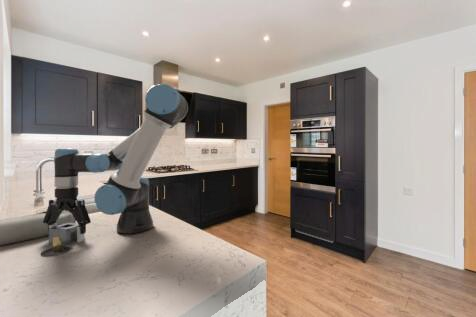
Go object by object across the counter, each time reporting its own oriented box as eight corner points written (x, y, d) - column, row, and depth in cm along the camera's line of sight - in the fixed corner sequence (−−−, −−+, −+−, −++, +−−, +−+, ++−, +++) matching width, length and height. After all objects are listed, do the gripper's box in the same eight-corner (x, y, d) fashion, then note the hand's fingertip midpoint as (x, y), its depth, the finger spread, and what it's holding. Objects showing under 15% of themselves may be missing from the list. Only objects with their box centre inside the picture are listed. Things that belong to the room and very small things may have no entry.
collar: (84, 238, 92) (84, 223, 92) (65, 245, 84) (65, 229, 84) (68, 236, 94) (68, 222, 94) (48, 243, 86) (48, 228, 86)
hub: (79, 247, 83) (79, 232, 83) (56, 257, 75) (56, 241, 75) (57, 246, 85) (57, 231, 85) (33, 256, 76) (33, 240, 76)
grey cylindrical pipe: (-15, 241, 87) (72, 224, 108) (-15, 253, 80) (78, 233, 101) (-16, 217, 86) (73, 205, 107) (-16, 227, 79) (78, 212, 100)
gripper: (101, 186, 91) (101, 239, 91) (49, 185, 94) (49, 236, 94) (86, 188, 84) (86, 246, 84) (30, 187, 87) (31, 243, 87)
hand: (67, 241), depth 89 cm, fingers open, 12 cm apart
